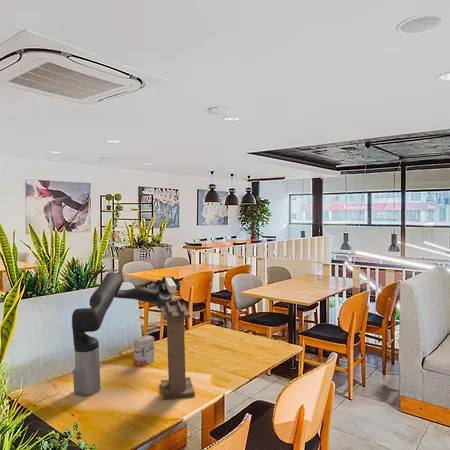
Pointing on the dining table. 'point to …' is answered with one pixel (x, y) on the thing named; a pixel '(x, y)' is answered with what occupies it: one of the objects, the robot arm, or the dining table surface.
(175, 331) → the wooden pedestal post
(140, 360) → the ink box
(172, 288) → the cream white long bar
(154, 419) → the dining table surface
